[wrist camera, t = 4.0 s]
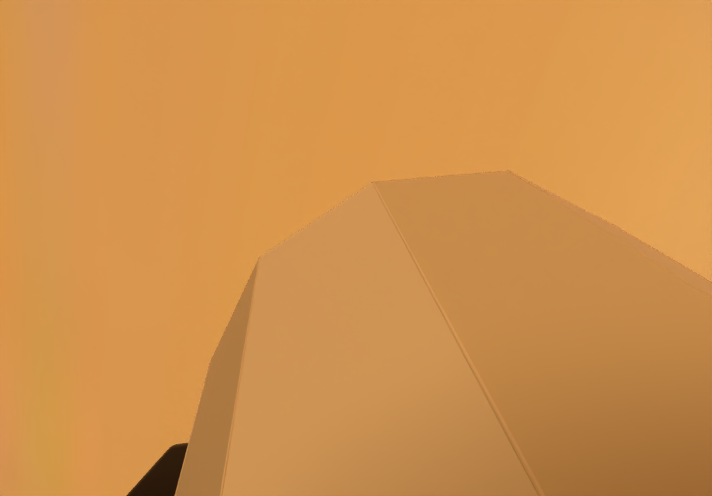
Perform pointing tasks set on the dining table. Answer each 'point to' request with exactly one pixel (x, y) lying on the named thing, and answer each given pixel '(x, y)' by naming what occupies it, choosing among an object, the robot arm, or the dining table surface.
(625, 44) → the dining table surface
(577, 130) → the dining table surface
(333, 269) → the notched tan hollow cylinder
